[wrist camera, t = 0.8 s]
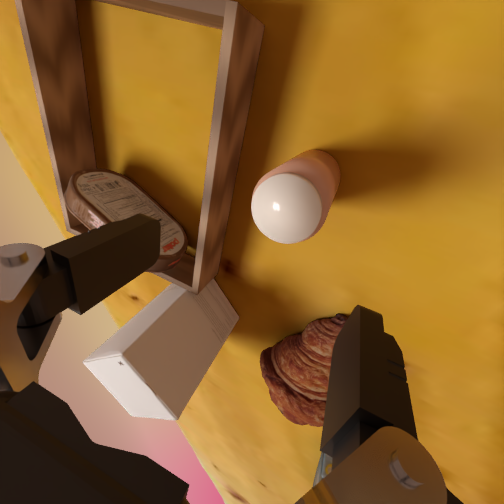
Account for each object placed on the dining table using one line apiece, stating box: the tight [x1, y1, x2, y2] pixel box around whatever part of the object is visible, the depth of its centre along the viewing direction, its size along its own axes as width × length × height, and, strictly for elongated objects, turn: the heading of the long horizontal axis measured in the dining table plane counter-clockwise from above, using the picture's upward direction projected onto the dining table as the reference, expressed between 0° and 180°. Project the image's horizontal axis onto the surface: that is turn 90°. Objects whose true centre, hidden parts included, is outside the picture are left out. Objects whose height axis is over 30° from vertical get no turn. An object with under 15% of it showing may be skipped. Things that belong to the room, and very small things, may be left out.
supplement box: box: [83, 278, 239, 420], centre depth 31 cm, size 9×9×15 cm
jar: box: [251, 150, 341, 244], centre depth 19 cm, size 5×5×10 cm
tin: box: [64, 169, 188, 273], centre depth 29 cm, size 15×3×8 cm, turn 53°
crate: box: [15, 0, 265, 295], centre depth 26 cm, size 26×21×5 cm
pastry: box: [260, 314, 348, 427], centre depth 32 cm, size 17×15×8 cm
